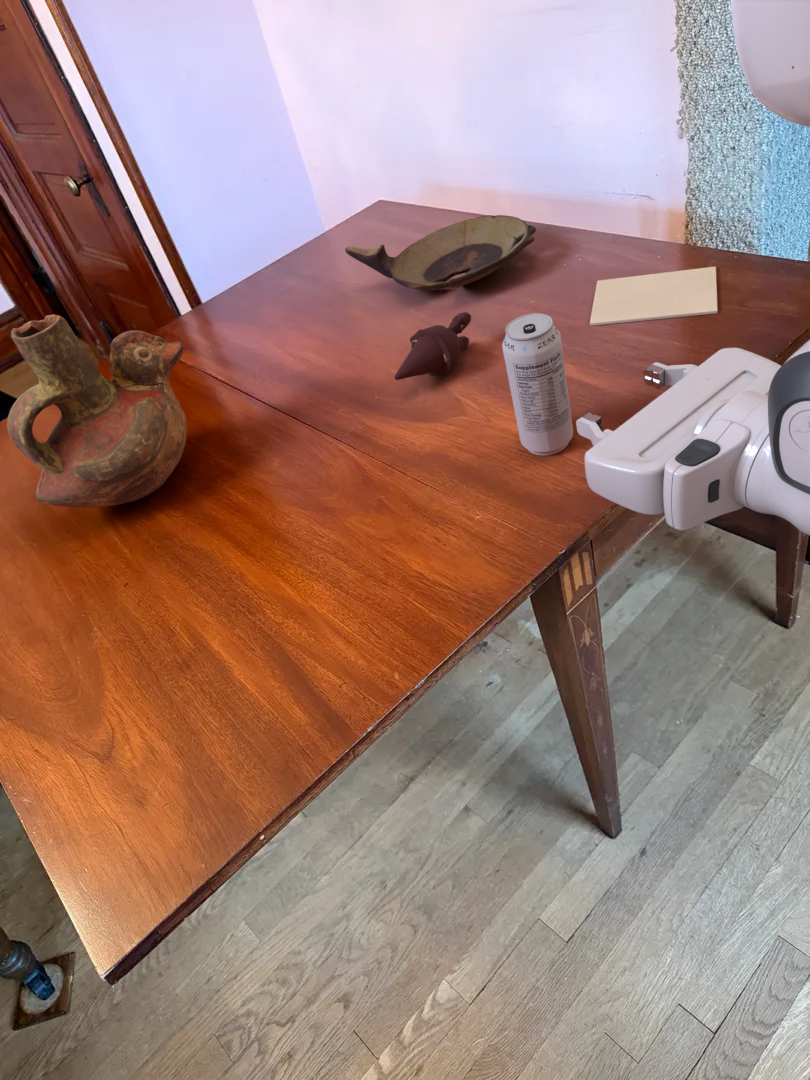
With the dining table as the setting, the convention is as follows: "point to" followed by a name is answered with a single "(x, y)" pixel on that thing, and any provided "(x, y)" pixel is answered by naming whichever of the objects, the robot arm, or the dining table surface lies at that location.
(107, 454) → the ceramic vessel
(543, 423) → the energy drink can
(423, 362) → the maroon pointed figurine
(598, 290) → the beige rectangular board
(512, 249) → the olive ceramic shallow bowl
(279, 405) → the dining table surface
